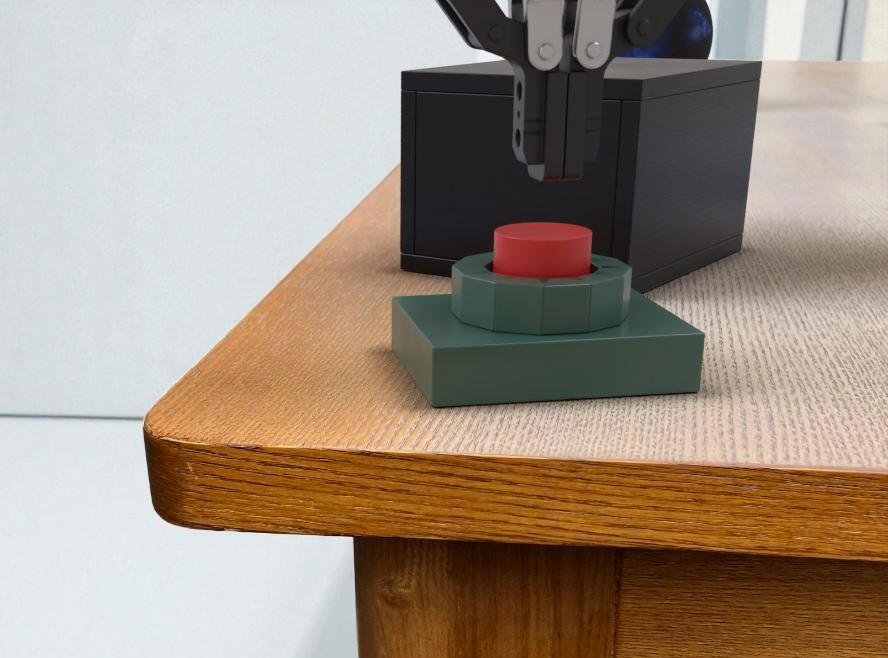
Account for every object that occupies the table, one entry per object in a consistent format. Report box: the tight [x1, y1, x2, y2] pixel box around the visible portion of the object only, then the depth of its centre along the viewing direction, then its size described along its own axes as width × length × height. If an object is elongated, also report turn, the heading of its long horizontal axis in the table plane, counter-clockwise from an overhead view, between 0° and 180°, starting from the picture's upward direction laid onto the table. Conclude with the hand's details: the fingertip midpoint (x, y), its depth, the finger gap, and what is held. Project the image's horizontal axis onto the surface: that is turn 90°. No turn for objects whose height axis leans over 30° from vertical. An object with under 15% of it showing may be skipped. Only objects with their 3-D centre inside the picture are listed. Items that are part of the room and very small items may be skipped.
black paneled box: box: [399, 57, 763, 294], centre depth 67 cm, size 15×13×10 cm
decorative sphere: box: [616, 0, 714, 60], centre depth 143 cm, size 15×15×15 cm
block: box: [391, 252, 706, 408], centre depth 49 cm, size 10×8×4 cm
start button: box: [493, 222, 592, 279], centre depth 48 cm, size 4×4×2 cm
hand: (553, 177), depth 47 cm, fingers closed
